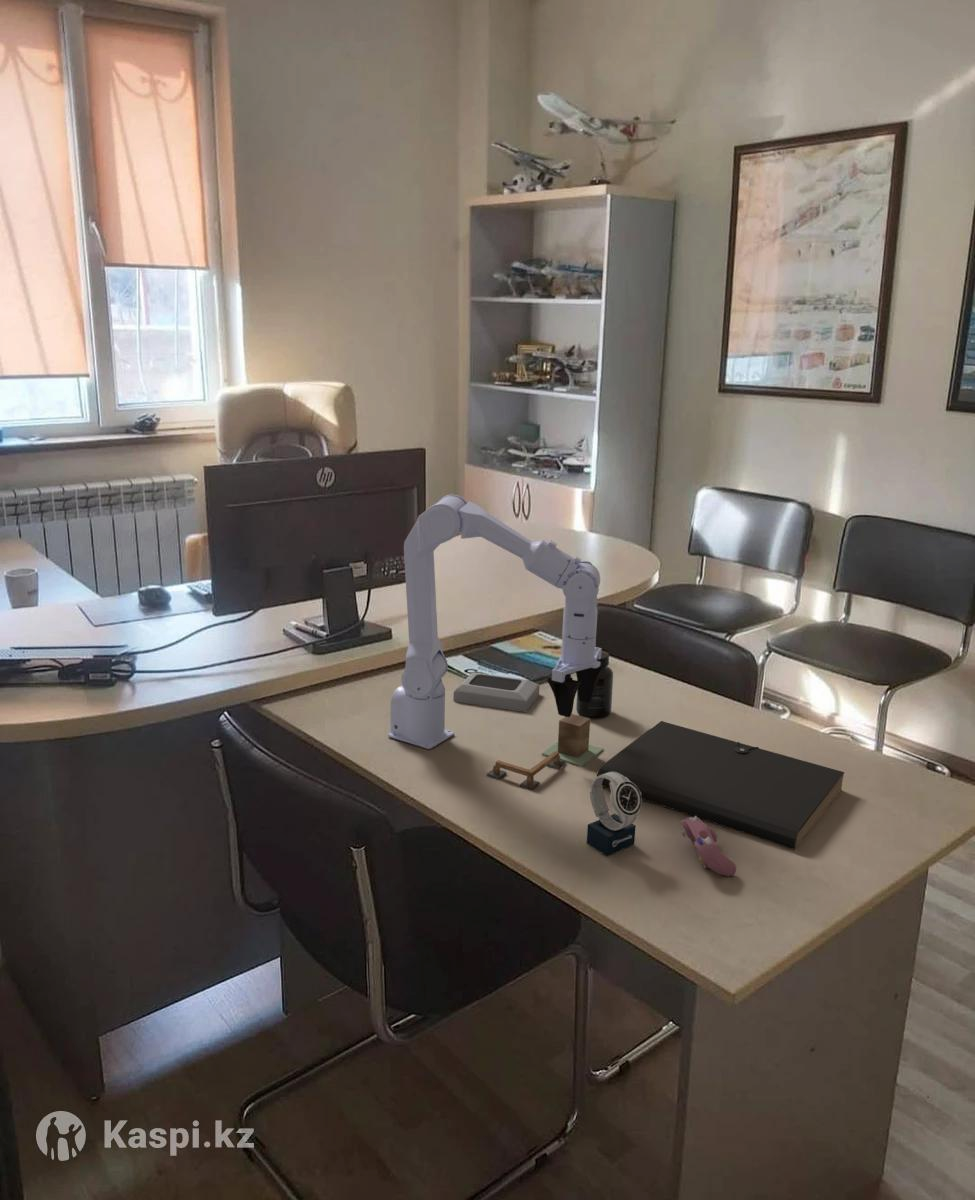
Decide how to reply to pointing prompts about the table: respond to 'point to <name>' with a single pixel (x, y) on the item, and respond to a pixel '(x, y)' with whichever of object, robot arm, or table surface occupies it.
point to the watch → (613, 829)
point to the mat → (579, 761)
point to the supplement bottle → (599, 695)
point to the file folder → (727, 782)
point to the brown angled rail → (529, 783)
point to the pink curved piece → (707, 846)
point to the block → (573, 735)
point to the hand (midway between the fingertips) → (574, 708)
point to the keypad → (497, 691)
